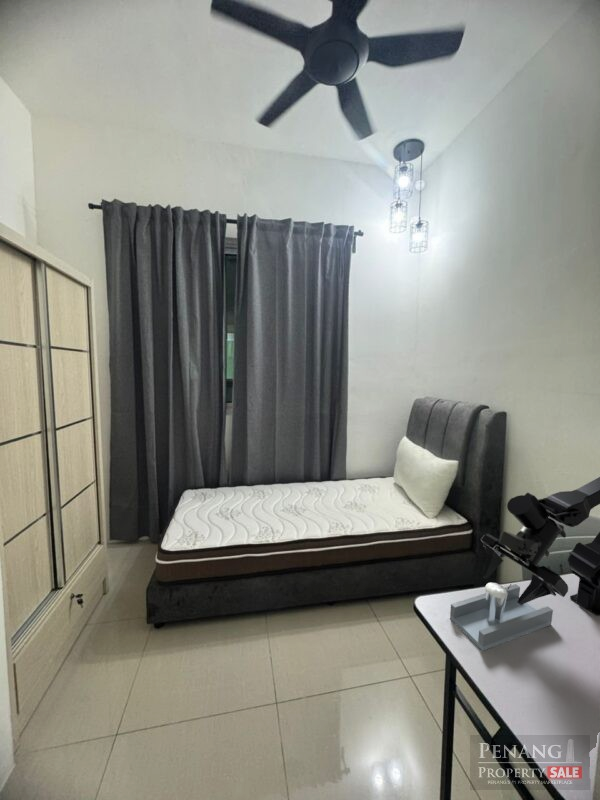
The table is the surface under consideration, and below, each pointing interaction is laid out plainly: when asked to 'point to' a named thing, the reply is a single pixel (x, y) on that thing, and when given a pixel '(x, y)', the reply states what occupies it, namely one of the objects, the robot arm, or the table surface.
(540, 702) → the table surface
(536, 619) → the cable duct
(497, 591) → the milkshake
